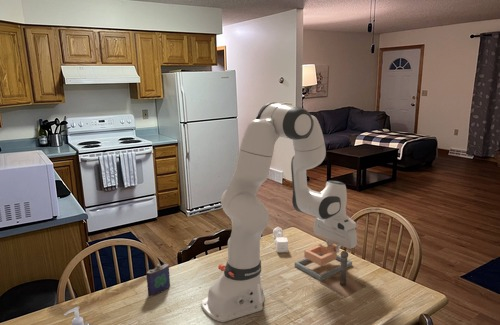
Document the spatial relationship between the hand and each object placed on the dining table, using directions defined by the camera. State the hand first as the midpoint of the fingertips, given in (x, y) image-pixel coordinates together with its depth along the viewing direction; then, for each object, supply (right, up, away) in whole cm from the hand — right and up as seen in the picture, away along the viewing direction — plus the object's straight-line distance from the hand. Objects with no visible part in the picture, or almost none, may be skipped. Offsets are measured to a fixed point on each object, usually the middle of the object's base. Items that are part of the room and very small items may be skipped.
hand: (333, 250), depth 152 cm
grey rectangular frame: (-5, -7, -2) cm, 8 cm away
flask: (-68, -11, -17) cm, 71 cm away
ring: (-4, -2, -3) cm, 5 cm away
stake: (0, -10, -16) cm, 19 cm away
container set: (-21, -2, +22) cm, 30 cm away
